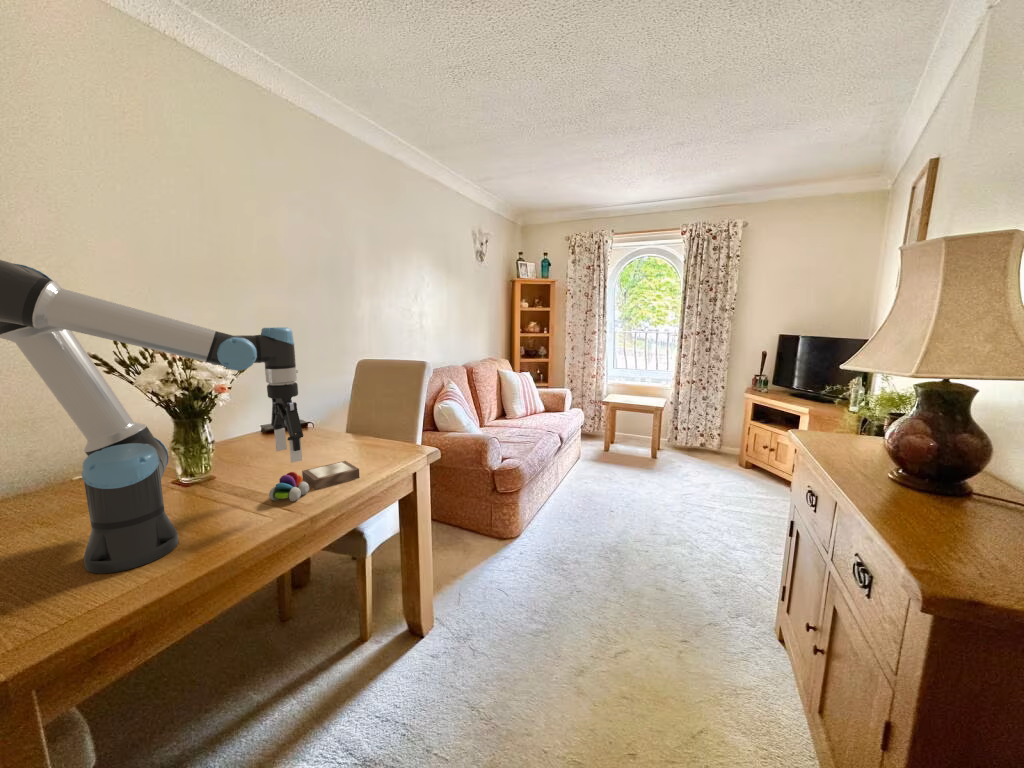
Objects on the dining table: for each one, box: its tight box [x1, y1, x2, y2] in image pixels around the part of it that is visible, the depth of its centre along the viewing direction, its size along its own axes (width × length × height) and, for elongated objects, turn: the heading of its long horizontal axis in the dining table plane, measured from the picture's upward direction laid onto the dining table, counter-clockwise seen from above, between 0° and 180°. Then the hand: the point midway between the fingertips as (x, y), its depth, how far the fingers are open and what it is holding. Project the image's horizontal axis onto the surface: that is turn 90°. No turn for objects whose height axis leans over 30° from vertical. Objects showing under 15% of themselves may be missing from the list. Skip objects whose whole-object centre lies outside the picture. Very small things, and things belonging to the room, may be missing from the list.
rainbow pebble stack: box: [268, 471, 310, 502], centre depth 118 cm, size 8×10×7 cm
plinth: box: [301, 460, 360, 490], centre depth 133 cm, size 14×11×3 cm
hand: (288, 455), depth 117 cm, fingers open, 13 cm apart
